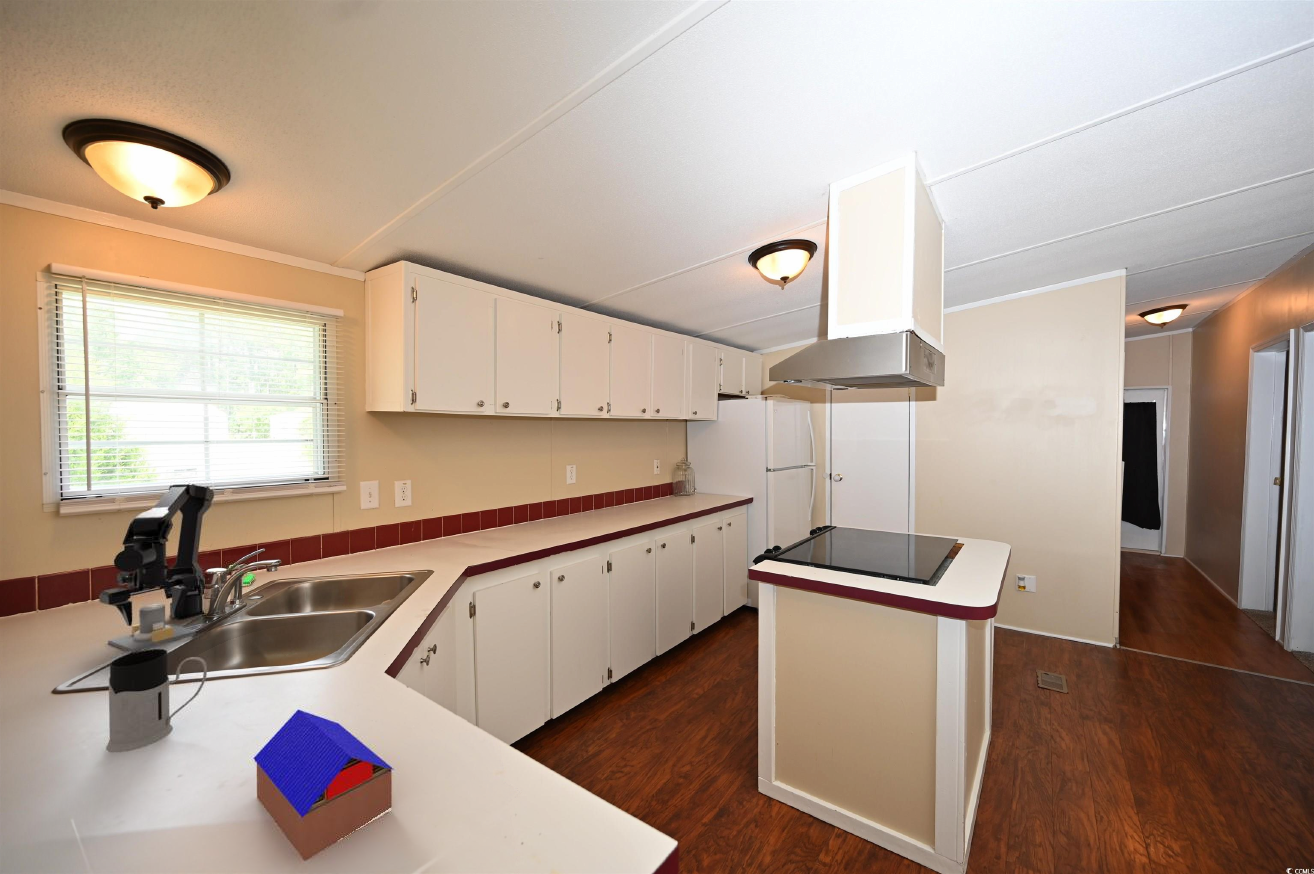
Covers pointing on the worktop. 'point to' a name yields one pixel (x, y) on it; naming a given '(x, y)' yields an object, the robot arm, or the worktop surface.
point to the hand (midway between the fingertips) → (152, 619)
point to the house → (320, 782)
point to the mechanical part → (247, 578)
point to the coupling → (151, 618)
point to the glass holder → (141, 699)
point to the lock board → (148, 643)
